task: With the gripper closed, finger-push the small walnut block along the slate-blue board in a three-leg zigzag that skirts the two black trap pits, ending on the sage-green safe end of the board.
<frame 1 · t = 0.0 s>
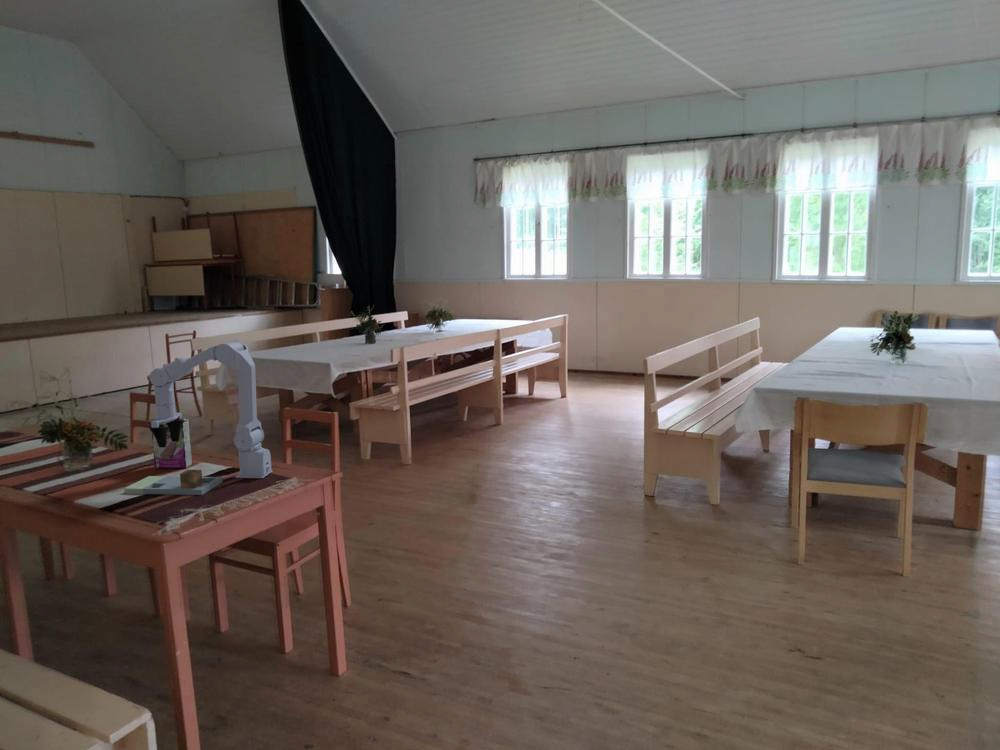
hand: (169, 444, 245), 10 cm above the table, fingers open, 7 cm apart
walnut block: (191, 486, 227), point 2 cm above the table, touching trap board
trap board: (174, 487, 232), on the table
candy bar box: (173, 467, 255), on the table, touching gripper
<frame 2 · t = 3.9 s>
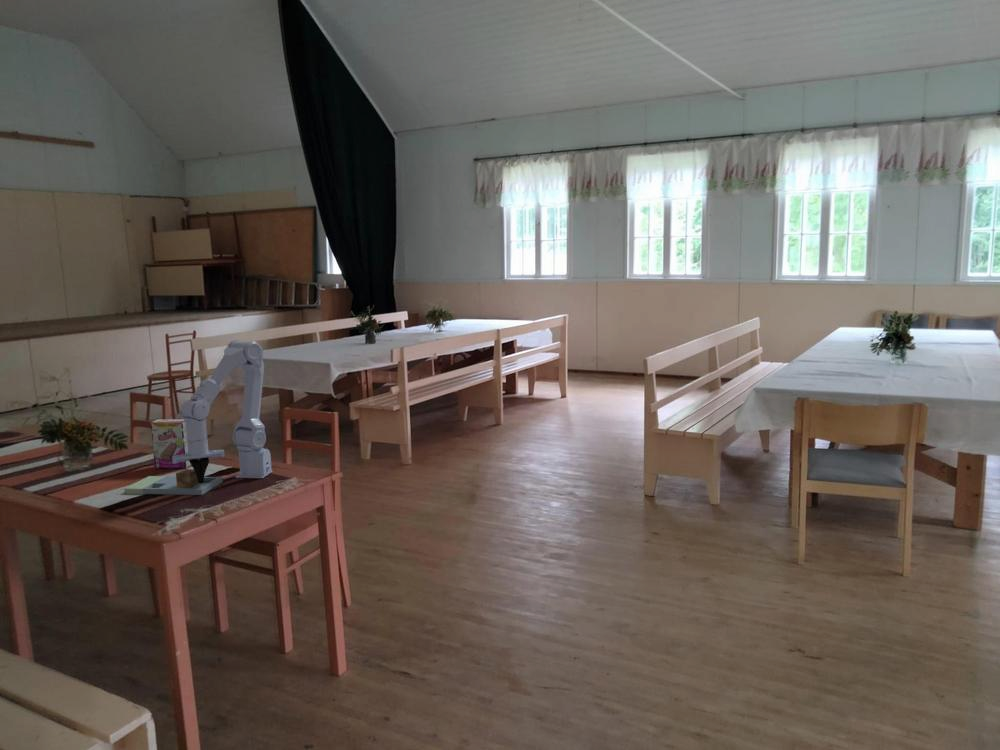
hand: (200, 482, 227), 3 cm above the table, fingers closed
walnut block: (188, 485, 228), point 2 cm above the table, touching gripper
candy bar box: (173, 467, 255), on the table
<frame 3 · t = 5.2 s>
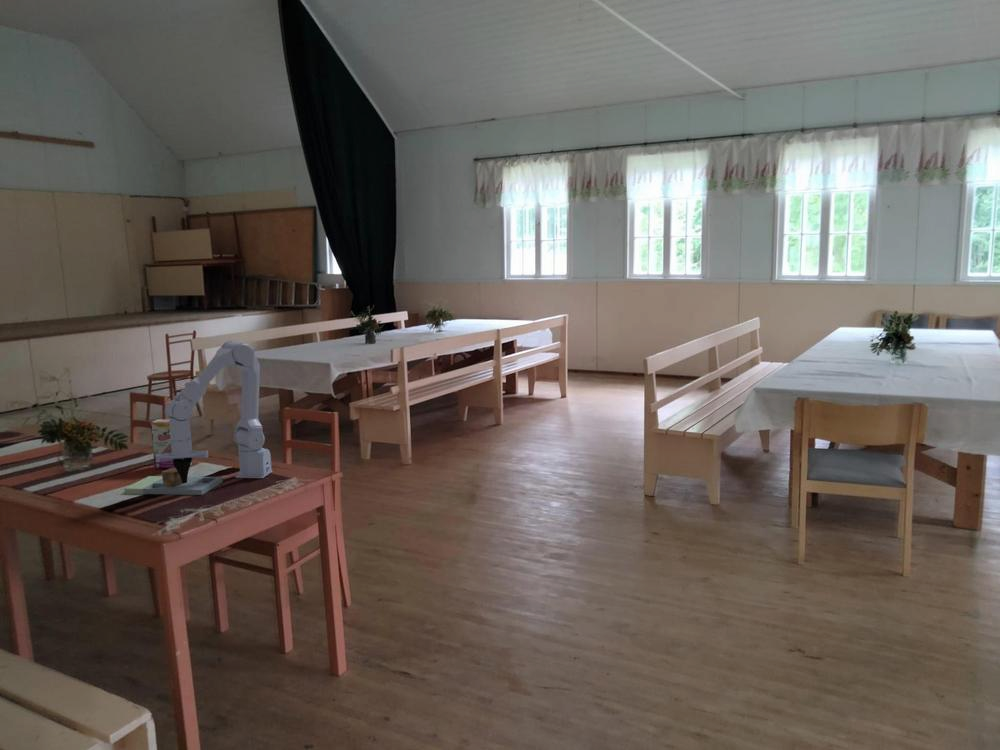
hand: (184, 482, 228), 3 cm above the table, fingers closed
walnut block: (174, 484, 230), point 2 cm above the table, touching gripper, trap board
everything else where it was.
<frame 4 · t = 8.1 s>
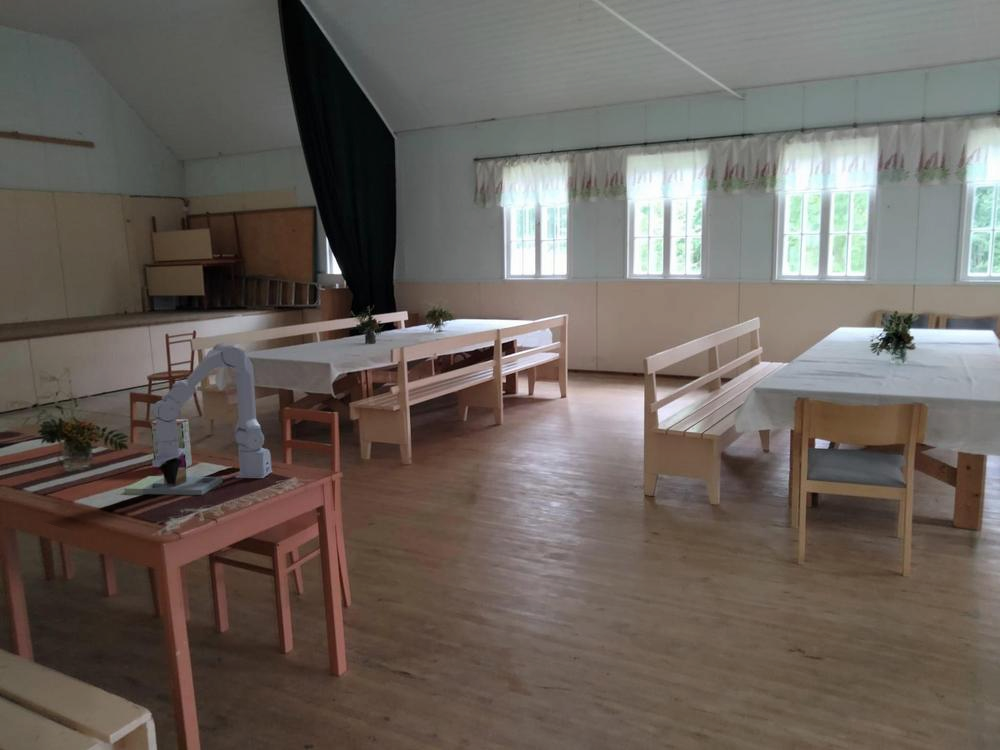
hand: (171, 483, 226), 3 cm above the table, fingers closed
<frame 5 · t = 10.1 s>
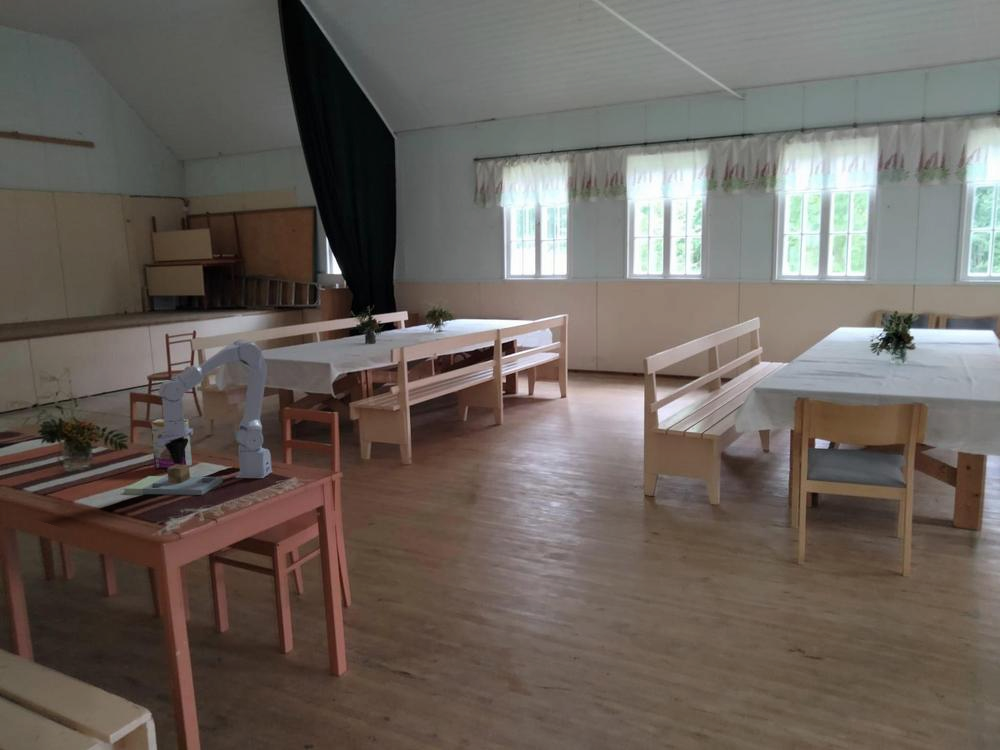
hand: (178, 462, 229), 8 cm above the table, fingers closed
walnut block: (179, 480, 234), point 2 cm above the table, touching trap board
everything else where it was.
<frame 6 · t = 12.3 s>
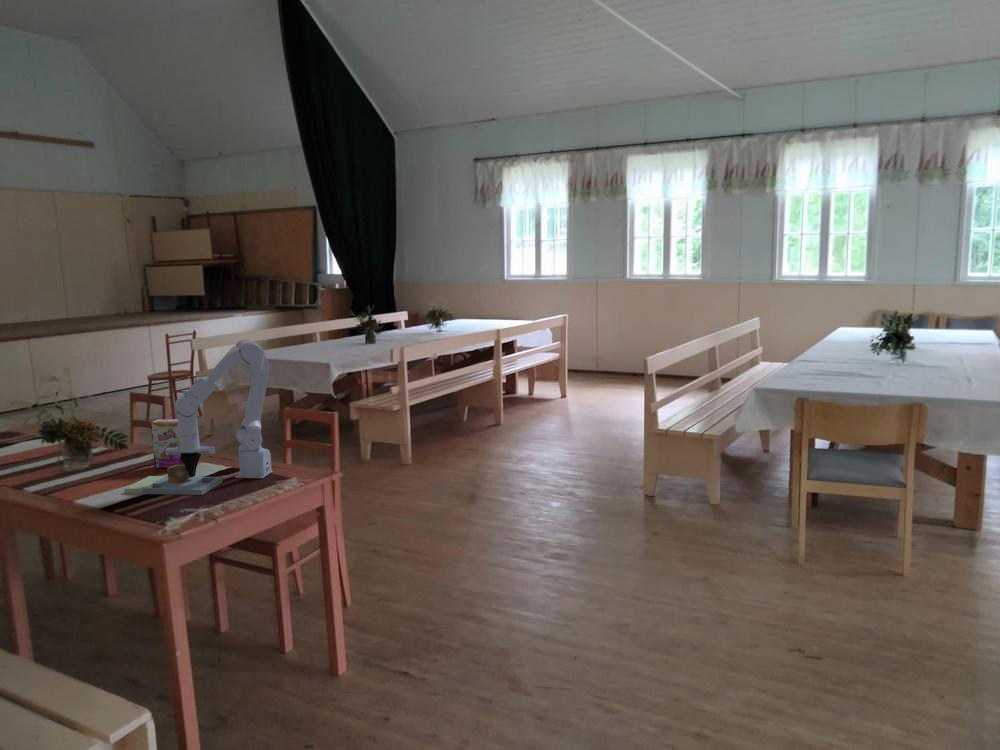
hand: (192, 476, 234), 3 cm above the table, fingers closed
walnut block: (179, 480, 234), point 2 cm above the table, touching gripper, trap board
everything else where it was.
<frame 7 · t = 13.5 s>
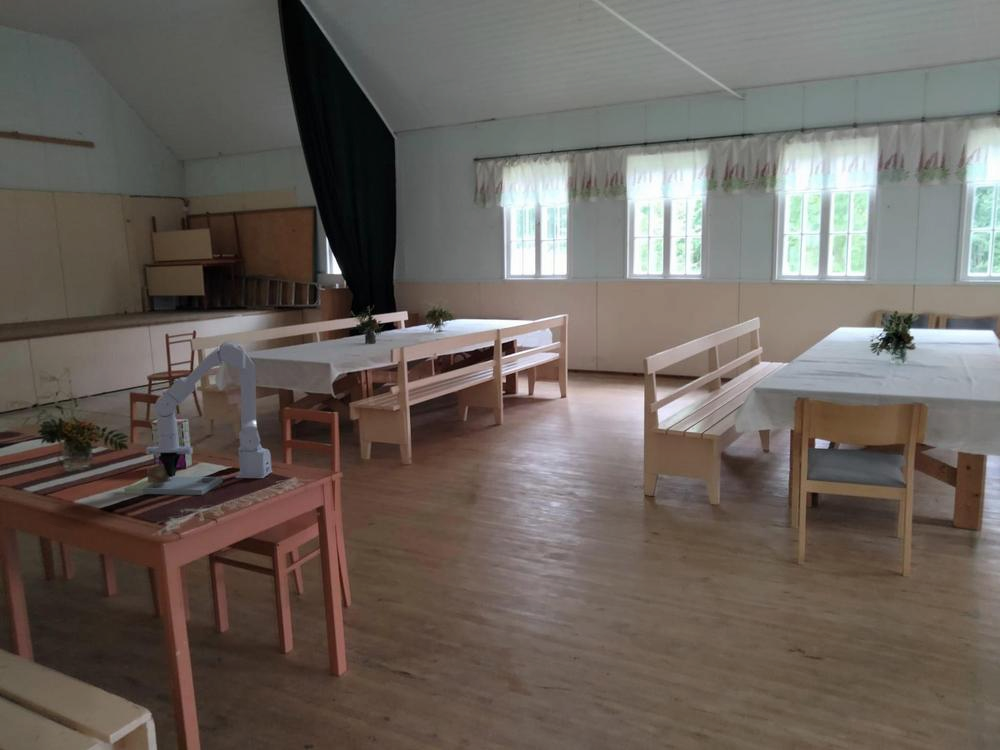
hand: (171, 476, 235), 3 cm above the table, fingers closed
walnut block: (159, 480, 234), point 2 cm above the table, touching gripper, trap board
everything else where it was.
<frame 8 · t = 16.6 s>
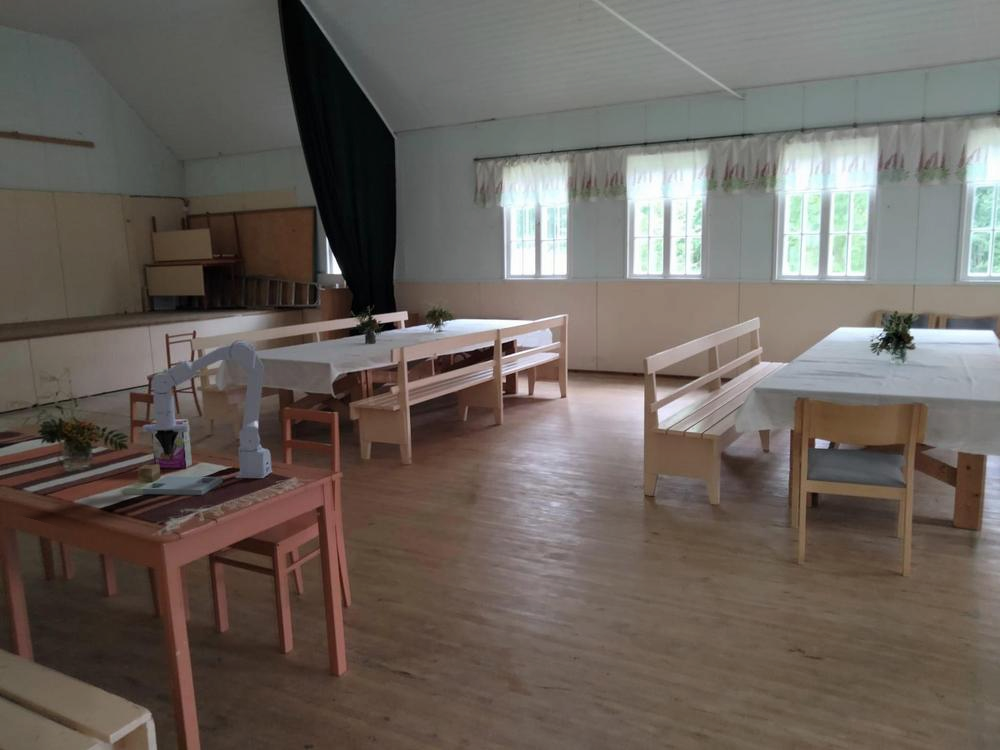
hand: (168, 454, 234), 10 cm above the table, fingers closed
walnut block: (150, 480, 234), point 2 cm above the table, touching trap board
everything else where it was.
at the end: walnut block inside the target area (2.0 cm from its centre), point 1.6 cm above the table; walnut block tilted 0° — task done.
